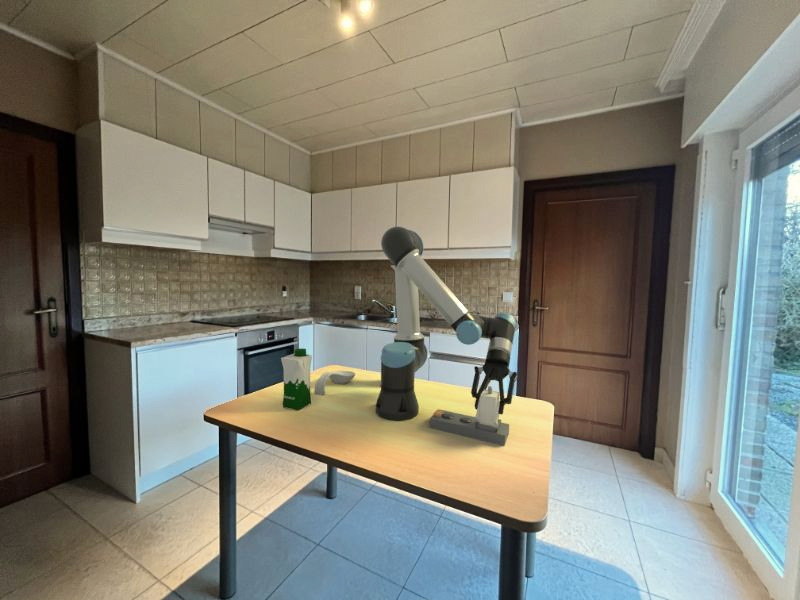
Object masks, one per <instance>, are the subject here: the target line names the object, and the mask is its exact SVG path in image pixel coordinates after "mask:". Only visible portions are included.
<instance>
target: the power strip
mask: <svg viewBox="0 0 800 600" xmlns="http://www.w3.org/2000/svg"><path fill="white" fill-rule="evenodd" d="M475 417H476V416H472V415H466V414H463V413H458V412H453V411H449V410H443V409H436V410H435V411H434V412H433V413H432V415H431V417H429V428H430V429H434V430H439V431H443V432H447V433H451V434H455V435H459V436H463V437H467V438H473V439H476V440H479V441H483V442H488V443H492V444H496V445H500V446H505V445H506V443H507V439H508V437H509V434H510V423H505V422H502V419H501V418H500V419H499V418H498V424H497V426H496V427H491V426H487V425H482V424H479V422H477V421H476V418H475Z"/></svg>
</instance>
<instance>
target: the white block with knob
mask: <svg viewBox="0 0 800 600" xmlns="http://www.w3.org/2000/svg"><path fill="white" fill-rule="evenodd" d="M497 401H500V394H499V391H494V390H493V386H489V385H488V386H487V389H486V390H484V391H483V392H482V393H481V396H480V420H479V424H482V425H487V426H491V427H496V426H495V425H494V416H495V411H496V405H497Z"/></svg>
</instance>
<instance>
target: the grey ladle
mask: <svg viewBox="0 0 800 600" xmlns="http://www.w3.org/2000/svg"><path fill="white" fill-rule="evenodd" d="M355 376H356V373H355V372H354V371H351V370H350V371H349V370H332V371H329V372H328V371H325V372H323V373H322V374H321V375H320V376H319V378H318V379H317V381H316V384H315V386H314V390H313V391H314V392H313V393H314V394H315V395H321V396H324V395H325V394H326V391H325V389H326V387H325V386H326V382H327V380H328V378H329V379H330V380H331V381H332V382H334V384H337V385H338V384H339V385H342V384H347V383H349V382H350V381H352V380H353V379H354V377H355Z"/></svg>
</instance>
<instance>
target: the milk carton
mask: <svg viewBox="0 0 800 600" xmlns="http://www.w3.org/2000/svg"><path fill="white" fill-rule="evenodd" d="M312 358H313V355H311V354H307V349H306V348H295V349H294V353H291V354H289V355H288V354H287V355H286V356H284V357H280V360H281V364H282V368H283V397H282V398H283V399H282V408H285V409H290V410H294V411H300V410H302V409H303V408H305V407H307V406H309V405H311V404H312V399H311V397H312V396H311V395H312V394H311V365H312Z"/></svg>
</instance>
